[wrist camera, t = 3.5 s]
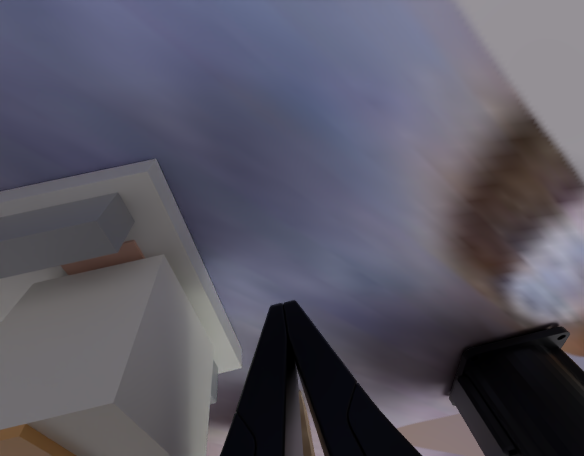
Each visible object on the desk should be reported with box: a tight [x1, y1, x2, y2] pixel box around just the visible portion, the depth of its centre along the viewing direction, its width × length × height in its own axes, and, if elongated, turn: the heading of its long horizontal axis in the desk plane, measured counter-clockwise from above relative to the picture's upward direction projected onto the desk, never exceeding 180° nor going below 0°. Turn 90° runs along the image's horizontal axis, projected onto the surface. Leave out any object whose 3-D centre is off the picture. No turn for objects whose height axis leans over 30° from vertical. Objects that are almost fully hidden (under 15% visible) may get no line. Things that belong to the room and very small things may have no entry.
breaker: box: [0, 254, 214, 456], centre depth 8 cm, size 4×5×5 cm
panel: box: [0, 159, 242, 404], centre depth 10 cm, size 13×10×4 cm
